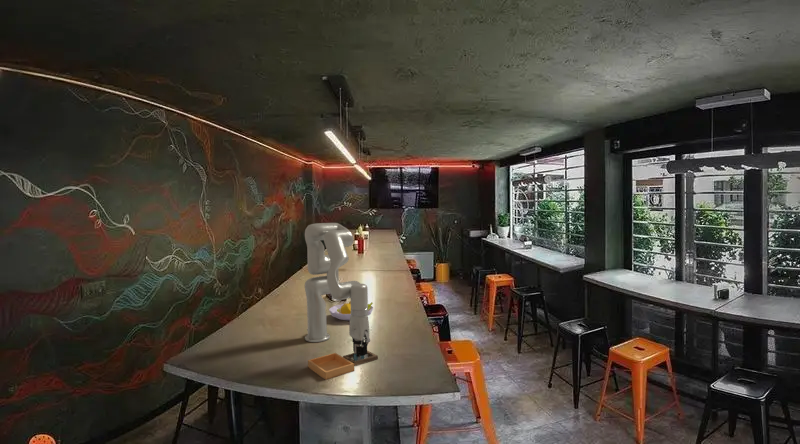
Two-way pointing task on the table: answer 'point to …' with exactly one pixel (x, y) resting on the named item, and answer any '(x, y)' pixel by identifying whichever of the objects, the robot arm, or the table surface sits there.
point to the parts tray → (330, 366)
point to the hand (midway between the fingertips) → (360, 352)
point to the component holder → (362, 361)
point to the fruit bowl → (345, 311)
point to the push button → (357, 350)
